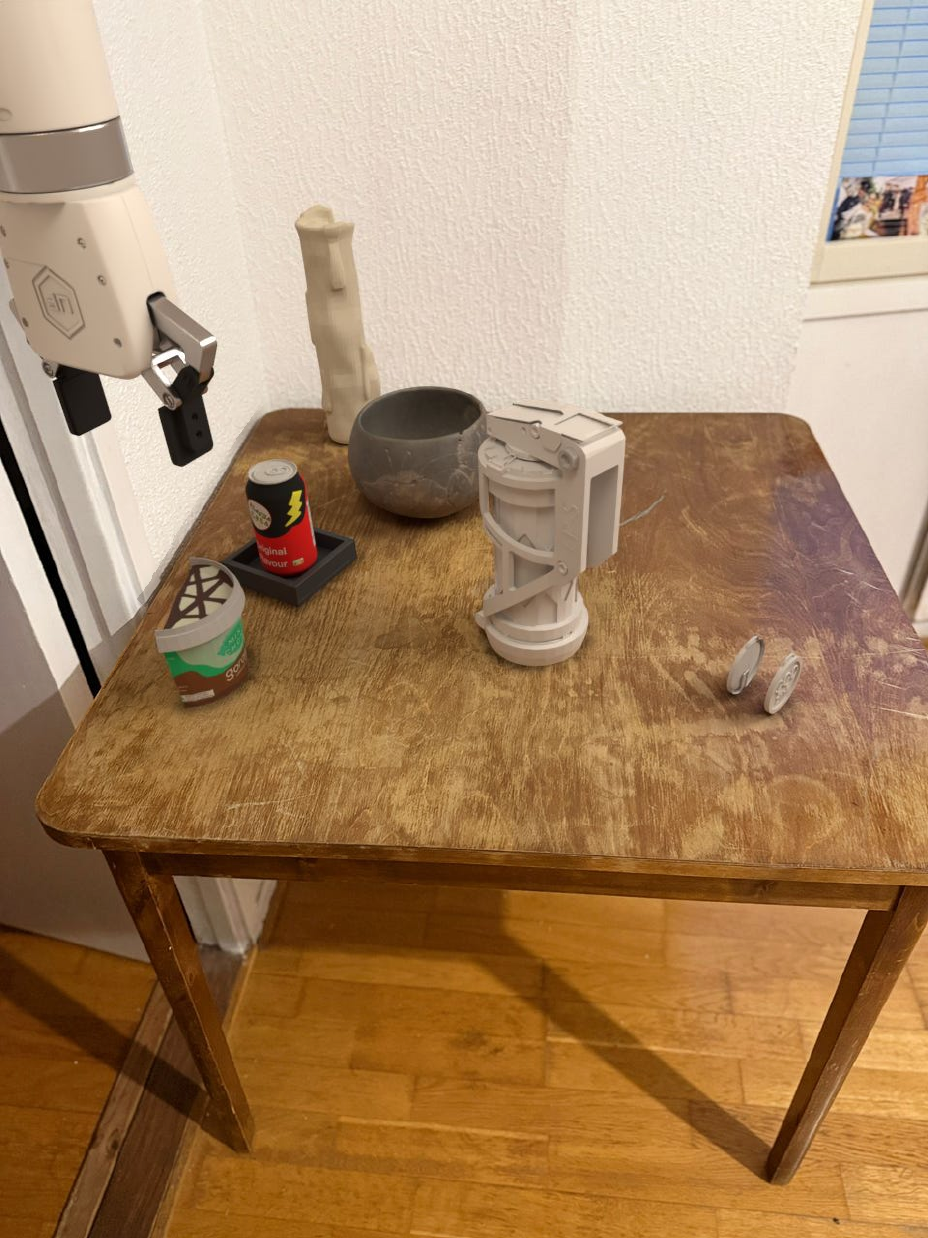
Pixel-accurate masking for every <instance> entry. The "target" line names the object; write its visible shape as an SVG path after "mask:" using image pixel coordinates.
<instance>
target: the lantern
mask: <svg viewBox="0 0 928 1238" xmlns="http://www.w3.org/2000/svg"><path fill="white" fill-rule="evenodd" d="M487 413H488V414H486V415H487V434H489V435H490V436H489V438H488V439H487V440H485V441H484V442H483V443H482V445H481V446H480V448H479V450H478V469H479V499H478V500H479V510H480V514H481V518H482V529H483V531H484V532H485V534H486V535H487V536H488V538H489V540H490V541H491V542H492V543H493V566H494V569H493V570H494V571H493V572H494V574H493V575H494V583H493V584H492V585H491V586H490V587H489V588H487V591H486V592H485V594H484V595H483V598H482V609H481V610H479V611H477V612H476V613H474V616H473V617H474V620H475V623H476V625H478V626H479V627H480V628H482V629H483V630H484V631H485V634H486V637H487V639H488V642H489V644H490V647H491V648H492V650H493V651H494V652H495V653H496V654H497V655H498V656H499V657H501V658H503V659H505V661H508V662H511V663H514V664H517V665H521V666H525V667H526V666H527V667H545V666H547V667H549V666H552V665H556V664H558V663H562V662H564V661H566V660H568V659H569V658H571V657H573V656H574V655H575V654H576V653H577V651H579V649H581V646H582V644H583V641H584V639H585V636H586V634H587V629H588V626H589V619H590V618H589V612H588V609H587V607H586V606H585V604H584V599H583V596H582V594H581V592H580V590H579V576H580V575H581V574H583V573H584V571H586V569H587V568H591V569H596V568H598V567H599V566H601V565H602V564H603V563H605V562H606V561H608V560H609V559H610V558H611V557H613V556H614V555H615V554H617V553H618V546H619V531H620V522H621V521H620V520H621V519H620V518H621V507H622V496H623V495H622V493H623V481H624V480H623V479H624V470H625V469H624V468H625V456H626V455H625V454H626V442H627V441H626V440H627V438H626V435H625V433H624V432H623V430H622V429H621V428H620V427H619V426H621V425H623V424H624V421H621V420H618V419H615V418H612V417H609V416H606V415H604V414H603V413H600V412H597V411H595V410H592V409H589V408H586V407H579V406H577V405H575V404H569V403H568V404H567V403H562V402H554V401H547V400H541V399H534V398H528V397H524V398H522V399H520V400H517V401H515V402H513V403H512V405H511V406H508V407H506V408H504V409H503V408H498V409H496V410H493V411H491V412H487ZM490 493H491V495H492V514H491V512H490Z"/></svg>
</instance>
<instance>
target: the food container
mask: <svg viewBox="0 0 928 1238" xmlns="http://www.w3.org/2000/svg"><path fill="white" fill-rule="evenodd" d="M188 560H189V565H190V569H189V571H188V575H187V577H186V579H185V581H184V583H183V585H182V586H181V587H180V589H179V590H178V592H177V594H176V596H175V598H174V600H173V603H172V606H171V610H170V612H169V615H168V618H167V620H166V622H165V624H164V625H163V629H154V634H155V643H156V646H157V652H158V654H160V653H161V654H163V657H164V660H165V662H166V664H167V667H168V669H169V673H170V674H171V677H172V679H173V682H174V685H175V686H176V687H175V688H176V689H177V692H178V694H179V697H180V699H181V702H182V705H183V708H192V707H199V706H205V705H208V704H211V703H215V702H217V701H219V700H221V699H223V698H225V697H227V696H229V695H230V694H231V693H233V692H235V690H236V689H238V688H239V687H240V686H241V685H242V684H243V682H244V681H245V679H246V678H247V676H248V672H249V660H248V653H247V647H246V641H245V632H244V628H243V620H242V613H243V611H244V609H245V605H246V595H245V592H244V590H243V587H242V586H240V584H239V582H238V580H237V579H236V577H235V576H234V575H233V574H232V573H231V571H230V570H229V569H228V568H227V567H226V566H224V565H222V564H221V562H218V561H216V560H213V559H209V558H204V557H188Z"/></svg>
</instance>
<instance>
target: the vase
mask: <svg viewBox="0 0 928 1238" xmlns="http://www.w3.org/2000/svg"><path fill="white" fill-rule="evenodd" d="M335 219H336V218H335V215H334V212H333V209H332V207H327V206H325V205H322V204H321V205H320V204H315V205H313V206H310V207H309V208H306V210H304V211H301V213H300V215H299V217H298V218H297V219H296V220H295V221H294V227H295V231H296V233H297V235H298V240H299V244H300V251H301V257H302V263H303V269H304V276H305V284H306V291H305V292H304V295H305V305H306V312H307V319H308V320H307V321H308V328H309V333H310V340H311V343H312V344H313V346H314V348H315V352H316V359H317V363H318V369H319V376H320V384H321V400H320V401H321V403H320V404H321V408H322V410H323V411H324V413H325V418H326V422H327V432H328V435H329V437H330V439H331V440H332V441H333V442H335V443H338V444H343V445H348V443H349V438H350V433H351V430H352V426H353V423H354V421H355V419H356V417H357V415H358V413H359V412H360V411H361V410H362V409H363V408H364V407H365V406H366V405H367V404H368V403H369V402H371V401H372V400H374V399H375V398H377V397H380V396H382V395H381V392H382V391H381V377H380V373H379V370H378V367H377V363H376V360H375V359H376V358H375V355H374V352H373V350H372V348H371V347H370V346H369V345H368V343H367V342H366V335H365V329H364V324H363V317H362V307H361V296H360V288H359V286H360V285H359V280H358V279H359V278H358V273H357V268H356V263H355V257H354V250H353V245H352V243H353V235H354V230H355V226H356V225H355V222H353V221H351V222H350V221H349V222H348V223H347V222H345V221H344V220H343V221H336V220H335Z"/></svg>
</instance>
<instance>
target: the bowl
mask: <svg viewBox="0 0 928 1238" xmlns="http://www.w3.org/2000/svg"><path fill="white" fill-rule="evenodd" d="M488 413H489V412H488V411H487V409H486V407H485V406H484V403H483V402H482V401H481V400H480V399H479V398H478V397H476V396H475V395H474V394H472V393H469V392H466V391H463V390H460V389H457V388H451V387H446V386H438V385H437V386H434V385H422V386H421V385H420V386H411V387H405V388H400V389H396V390H393V391H390V392H387V393H384V394H382V395H380V397H377V398H375V399H374V400H372V401H371V402H369V403H368V404H367V405H366V406H365V407H364V408H363V409H362V410H361V411H360V412H359V413H358V415H357V417H356V419H355V421H354V423H353V426H352V430H351V433H350V438H349V443H348V444H347V462H348V468H349V472H350V475H351V477H352V479H353V482H354V483H355V485H356V487H357V489H358V490H359V491H360V493H362V494H363V496H364V497H365V498H366V499H368V500H369V501H370V502H371V503H373V504H374V505H375V506H377V507H379V508H381V509H383V510H385V511H387V512H389V513H392V514H396V515H399V516H404V517H409V518H415V519H416V518H417V519H438V518H445V517H447V516H450V515H452V514H455V513H458V512H461V511H463V510H464V509H466V508H468V507H469V506H471V505H473V504H474V503H475V502H477V501H478V500H480V499H479V469H478V450H479V448H480V446H481V445H482V443H483V442H484V441H485V440H487V439H488V438H489V436H490V435H489V434H487V415H486V414H488Z"/></svg>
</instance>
